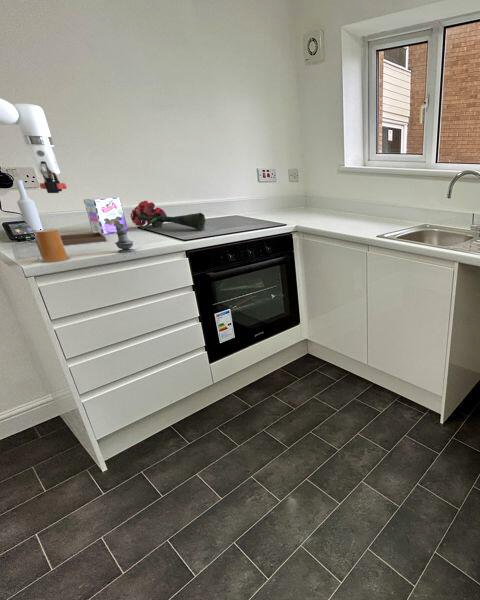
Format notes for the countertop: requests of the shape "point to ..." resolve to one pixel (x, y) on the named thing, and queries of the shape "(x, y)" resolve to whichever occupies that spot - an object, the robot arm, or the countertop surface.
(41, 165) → the robot arm
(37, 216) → the bottle
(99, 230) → the candy box
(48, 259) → the jar
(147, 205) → the carnation
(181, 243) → the countertop surface
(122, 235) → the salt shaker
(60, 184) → the lid
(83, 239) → the tray
